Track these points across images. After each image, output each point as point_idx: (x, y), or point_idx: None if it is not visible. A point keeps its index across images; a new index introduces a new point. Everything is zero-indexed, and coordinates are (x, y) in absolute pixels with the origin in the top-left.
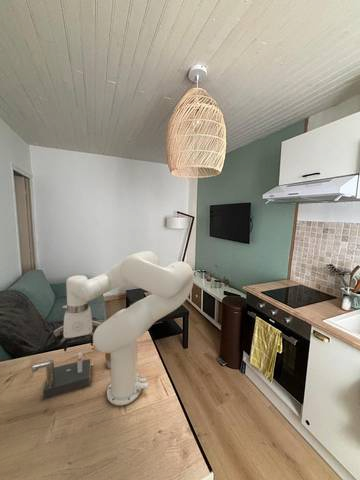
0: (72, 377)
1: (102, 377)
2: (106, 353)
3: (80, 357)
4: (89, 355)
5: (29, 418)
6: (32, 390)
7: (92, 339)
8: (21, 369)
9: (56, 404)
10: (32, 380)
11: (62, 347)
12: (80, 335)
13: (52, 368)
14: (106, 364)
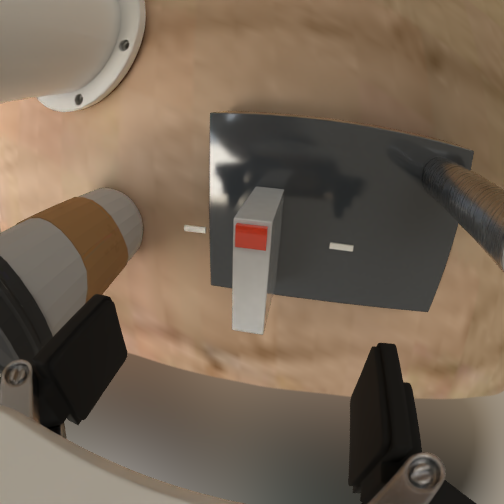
0: (318, 165)
1: (161, 145)
2: (86, 239)
3: (246, 264)
4: (233, 334)
5: (487, 65)
6: None
7: (53, 338)
8: (486, 364)
9: (393, 68)
10: (477, 293)
11: (409, 392)
12: (92, 471)
13: (484, 197)
14: (139, 222)
